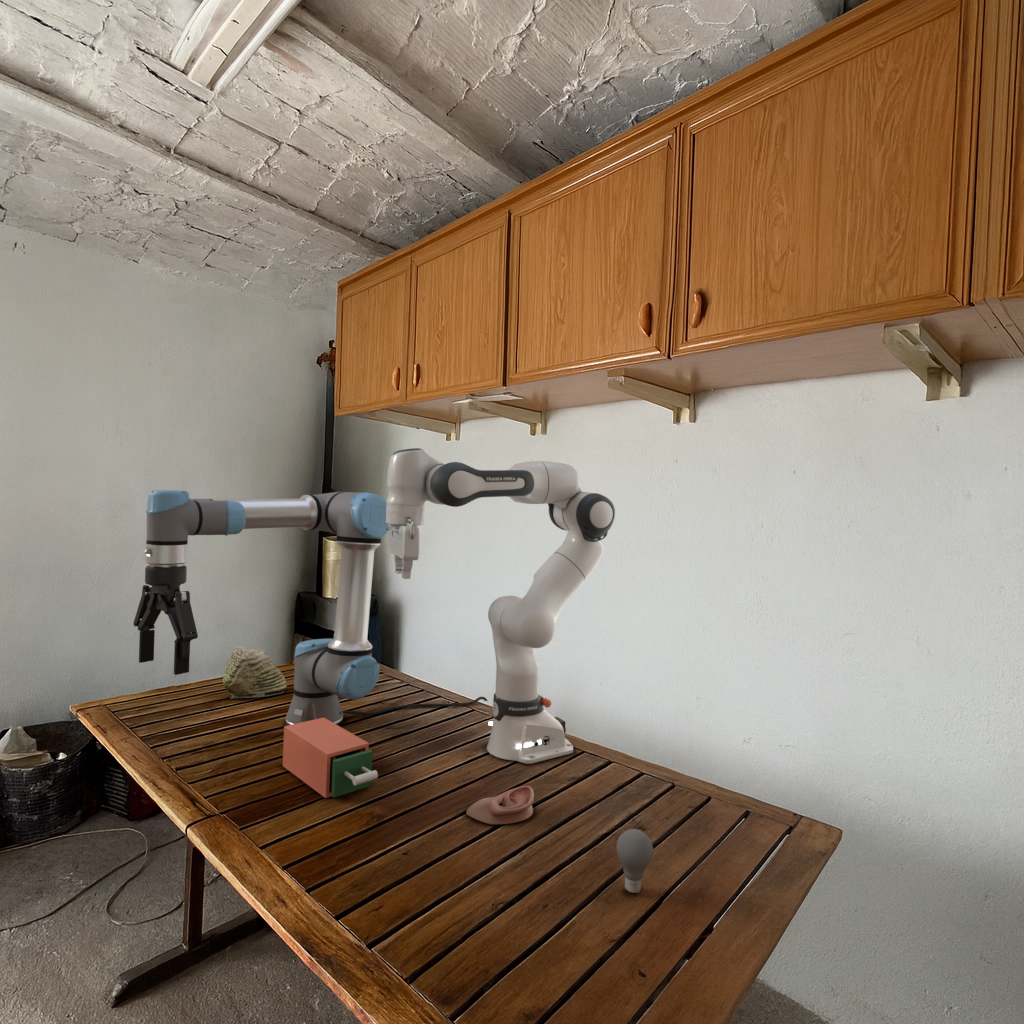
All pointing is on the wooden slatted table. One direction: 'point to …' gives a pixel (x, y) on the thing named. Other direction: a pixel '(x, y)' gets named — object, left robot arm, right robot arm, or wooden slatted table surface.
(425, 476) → the right robot arm
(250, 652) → the fossil
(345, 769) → the drawer
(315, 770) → the cabinet
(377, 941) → the wooden slatted table surface
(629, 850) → the light bulb
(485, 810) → the anatomical model
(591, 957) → the wooden slatted table surface
